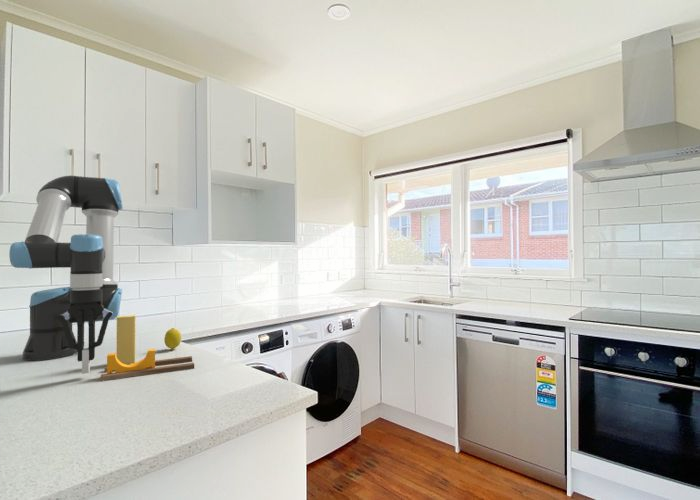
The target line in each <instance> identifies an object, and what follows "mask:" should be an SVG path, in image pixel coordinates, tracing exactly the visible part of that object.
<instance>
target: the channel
mask: <svg viewBox="0 0 700 500" xmlns="http://www.w3.org/2000/svg"><path fill="white" fill-rule="evenodd" d="M130 364H131V363H130ZM130 364H126V365H130ZM173 364H174V365H173ZM158 366H159V367H158ZM148 367H150V366H148ZM191 368H192V369H195V363H194V362H193V357H192V355H189V356H183V357H182V356H181V357H174V358H166V359H164V358H163V359H157V360H156V359H155V368H148V369H141V370H133V371H125V372H117V373H110V374H107V365H106V366H105V367H104V368H103V371H104V374H100V377H99V379H100V382H103V380H104V381H110V380H118V379H117V378H119V379H125V378H124V377H126V378H132V377H131V376H133V377H138V376H139V375H141V376H145V375H155V373H156V374H160V373H161V374H163V373H169V372H176V371H177V370H178V371H182V370H184V369H185V370H190V369H191ZM112 372H116V371H115V370H112ZM139 377H140V376H139Z"/></svg>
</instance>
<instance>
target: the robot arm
mask: <svg viewBox="0 0 700 500" xmlns="http://www.w3.org/2000/svg"><path fill="white" fill-rule="evenodd" d="M35 201H36V203H37V205H36V209H35V212H34V215H33V217H32V219H31V221H30V222H31V223H30V226H29V227H28V231H27V234H26V237H25V239H24V241H15V242H13V243H12V244H11V245H10V248H9V262H10V265H11V267H13V268H15V269H16V268H17V269H19V268H20V269H29V270H30V269H49V268H53V269H55V268H56V269H57V268H58V269H59V268H62V269H63V268H70V272H69V273H70V274H69V286H63V287H56V288H50V289H49V288H48V289H45V290H44V289H43V290H38V291H35V292H33V293H32V294H31V295H30V302H29V306H28V307H29V336H28V339H27V341H26V343H25V346H24V348H23V351H22V360H25V361H44V360H52V359H53V360H54V359H58V358H65V357H68V356H72V355H75V354H77V362H78V363H79V362H81V374H89V372H91V361H92V360H94V359H95V355H96V354H95V353H96V352H95V351H96V350H95V349H96V348H98V347H100V346H102V344H103V341H104V338H105V334H106V330H107V327H108V324H109V321H110V320H111V321H112V320H115V319H117V317H118V316H119V313H120V308H121V300H122V296H123V295H122V293H123V289H122V288H120V287H119V285H118V284H119V283H118V282H116V281H115V280H114V235H115V234H114V232H115V231H114V228H115V227H114V225H115V224H114V222H115V221H114V219H115V218H116V217H117V216H118V215H119V211H121V210H123V209H124V208H123V202H122V194H121V187H120V182H119V181H118V180H116V179H111V178H106V177H91V176H79V175H65V176H64V175H63V176H59V177H57V178H53V179H52V180H50V181H48V182H47V183H45V184H44V185H43V186H42V187H41V188H40V189H39V191H38V192H37V195H36V200H35ZM70 208H81V213H82V214H83V215H84V216H86V219H85V221H86V225H85V226H86V229H85V230H86V232H85V234H81V233H80V234H73V235H71V237H70V242H59V238H60V234H61V229H62V228H63V227H62V226H63V223H64V219H65V216H66V212H67V211H68V210H69V209H70ZM96 322H102V323H101V326H100V329H99V333H98V336H97V340H96ZM85 323H87V325H88V347H86V348H85ZM73 324H76V327H77V330H76V331H77V335H75V334H74V331H73ZM76 337H77V338H76Z"/></svg>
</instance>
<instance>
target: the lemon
mask: <svg viewBox="0 0 700 500" xmlns="http://www.w3.org/2000/svg"><path fill="white" fill-rule="evenodd" d="M165 332H166V333H165V335H164V345H165V346H166V347H167V348H169V349H171V351H172V350H173V351H174V350H175V349H176V348H178V347H179V346H180V343H181V341H182V335H181V332H180V330H178V329H176V328H175V327H172V328H171V329H168V330H167V331H165Z"/></svg>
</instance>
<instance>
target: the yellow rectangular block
mask: <svg viewBox="0 0 700 500" xmlns="http://www.w3.org/2000/svg"><path fill="white" fill-rule="evenodd" d="M136 317H137V315H136V314H131V315H130V314H128V315H118V316H117V318H116V356H117V358H118V360H119V361H120V362H121V363H123V364H131V363H136V352H137V351H136V349H137V348H136V341H137V340H136V333H137V331H136V330H137V329H136V328H137V327H136V326H137V324H136Z"/></svg>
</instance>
